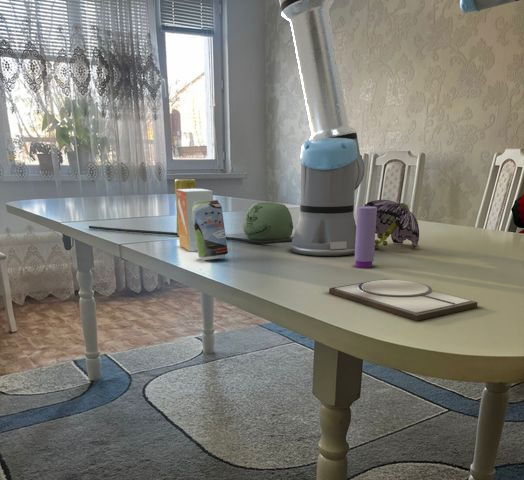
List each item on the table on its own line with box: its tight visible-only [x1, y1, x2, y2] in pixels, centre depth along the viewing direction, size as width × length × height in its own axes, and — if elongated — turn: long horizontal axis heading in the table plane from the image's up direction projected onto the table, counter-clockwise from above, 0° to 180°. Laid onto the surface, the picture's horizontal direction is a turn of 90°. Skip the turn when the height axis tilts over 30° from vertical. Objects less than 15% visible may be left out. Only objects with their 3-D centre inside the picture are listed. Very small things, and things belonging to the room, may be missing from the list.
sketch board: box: [328, 278, 479, 322], centre depth 80 cm, size 18×14×1 cm
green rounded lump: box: [243, 202, 294, 241], centre depth 139 cm, size 16×13×9 cm
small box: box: [177, 188, 214, 252], centre depth 123 cm, size 8×6×13 cm
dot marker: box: [354, 205, 377, 269], centre depth 102 cm, size 4×4×11 cm
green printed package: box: [192, 199, 229, 261], centre depth 110 cm, size 6×7×12 cm
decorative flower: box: [362, 199, 420, 250], centre depth 123 cm, size 14×12×15 cm
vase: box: [174, 178, 197, 237], centre depth 143 cm, size 6×6×14 cm
